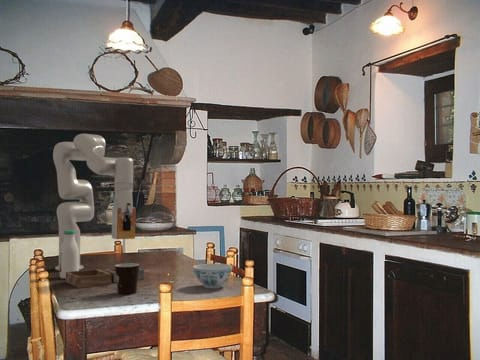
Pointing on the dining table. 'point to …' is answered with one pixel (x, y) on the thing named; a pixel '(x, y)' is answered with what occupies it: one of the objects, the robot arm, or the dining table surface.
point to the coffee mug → (127, 278)
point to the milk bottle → (69, 254)
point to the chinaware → (212, 274)
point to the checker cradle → (113, 274)
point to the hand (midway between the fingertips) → (123, 229)
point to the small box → (118, 225)
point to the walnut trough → (88, 278)
